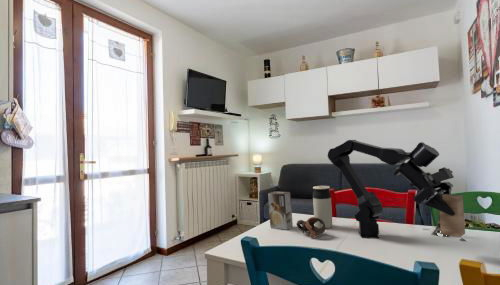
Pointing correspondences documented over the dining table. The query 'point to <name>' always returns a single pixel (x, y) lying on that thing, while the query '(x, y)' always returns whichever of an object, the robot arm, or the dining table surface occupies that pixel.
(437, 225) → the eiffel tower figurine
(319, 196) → the travel mug
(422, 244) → the dining table surface
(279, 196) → the coffee box
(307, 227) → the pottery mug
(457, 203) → the walnut block
